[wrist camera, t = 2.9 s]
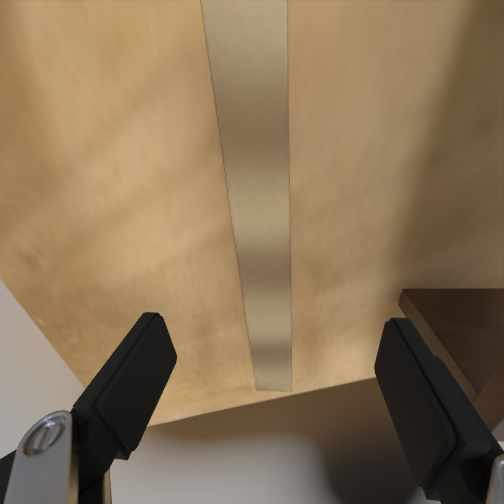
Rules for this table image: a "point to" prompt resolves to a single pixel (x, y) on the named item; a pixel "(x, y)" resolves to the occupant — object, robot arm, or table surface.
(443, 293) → the dark brown channel bracket
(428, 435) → the robot arm
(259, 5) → the stick
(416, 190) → the table surface
